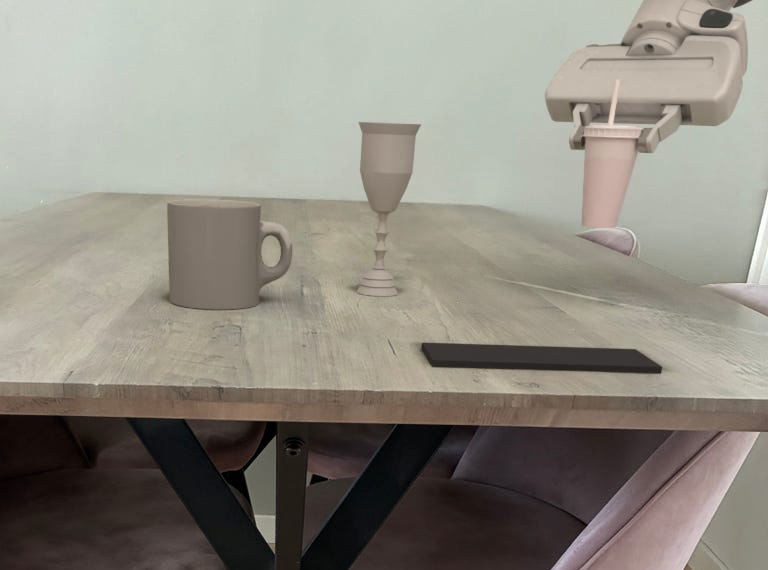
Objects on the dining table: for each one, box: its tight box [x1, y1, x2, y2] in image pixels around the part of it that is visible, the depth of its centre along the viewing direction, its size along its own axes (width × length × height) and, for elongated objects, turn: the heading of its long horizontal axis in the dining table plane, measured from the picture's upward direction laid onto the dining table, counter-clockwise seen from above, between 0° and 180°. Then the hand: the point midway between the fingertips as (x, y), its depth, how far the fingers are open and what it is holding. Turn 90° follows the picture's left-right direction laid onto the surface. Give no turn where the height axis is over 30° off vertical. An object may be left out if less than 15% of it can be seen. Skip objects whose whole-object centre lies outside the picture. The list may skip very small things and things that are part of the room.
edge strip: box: [420, 342, 663, 375], centre depth 85 cm, size 20×7×1 cm, turn 91°
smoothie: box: [581, 80, 645, 229], centre depth 102 cm, size 6×6×14 cm
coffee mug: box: [166, 198, 293, 311], centre depth 104 cm, size 13×10×10 cm
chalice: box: [355, 121, 422, 297], centre depth 111 cm, size 7×7×18 cm
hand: (609, 147), depth 101 cm, fingers closed on smoothie, 6 cm apart
